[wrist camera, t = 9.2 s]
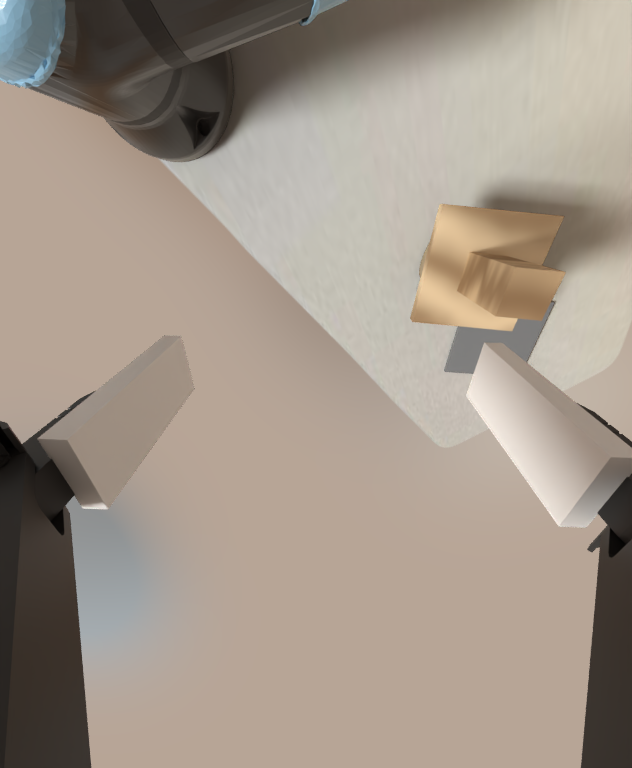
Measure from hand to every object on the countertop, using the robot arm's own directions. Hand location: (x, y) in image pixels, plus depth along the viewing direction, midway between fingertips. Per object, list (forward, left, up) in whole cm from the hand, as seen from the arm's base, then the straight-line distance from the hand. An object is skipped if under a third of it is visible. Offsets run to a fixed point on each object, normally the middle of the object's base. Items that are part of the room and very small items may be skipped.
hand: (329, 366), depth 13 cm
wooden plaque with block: (-1, +17, -24) cm, 29 cm away
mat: (+10, +26, -31) cm, 42 cm away
